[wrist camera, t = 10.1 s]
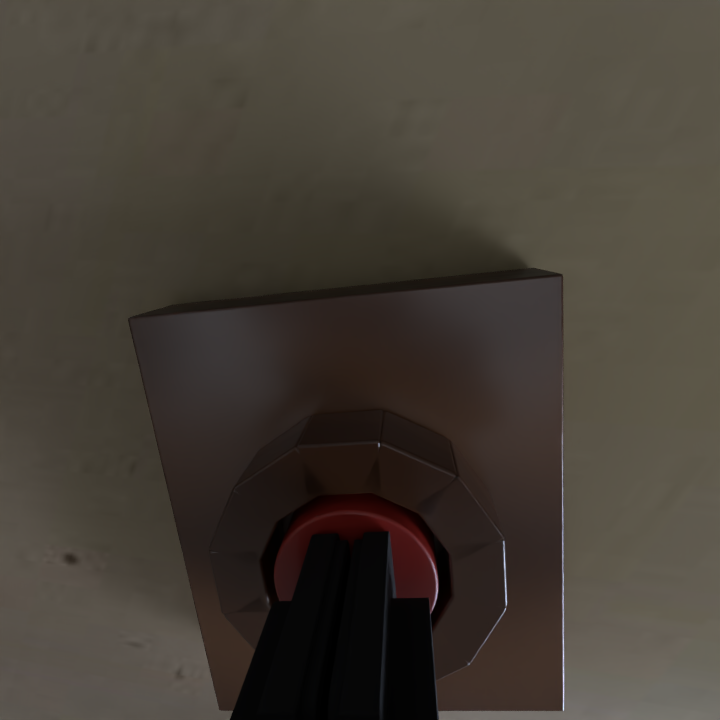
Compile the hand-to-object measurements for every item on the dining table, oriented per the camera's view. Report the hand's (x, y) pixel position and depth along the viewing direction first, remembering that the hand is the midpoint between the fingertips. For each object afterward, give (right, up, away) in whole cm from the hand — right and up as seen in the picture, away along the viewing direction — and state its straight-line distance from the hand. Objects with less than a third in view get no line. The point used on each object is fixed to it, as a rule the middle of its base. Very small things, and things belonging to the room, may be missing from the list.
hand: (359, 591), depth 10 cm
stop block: (0, +1, +4) cm, 4 cm away
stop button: (0, +1, +2) cm, 2 cm away
